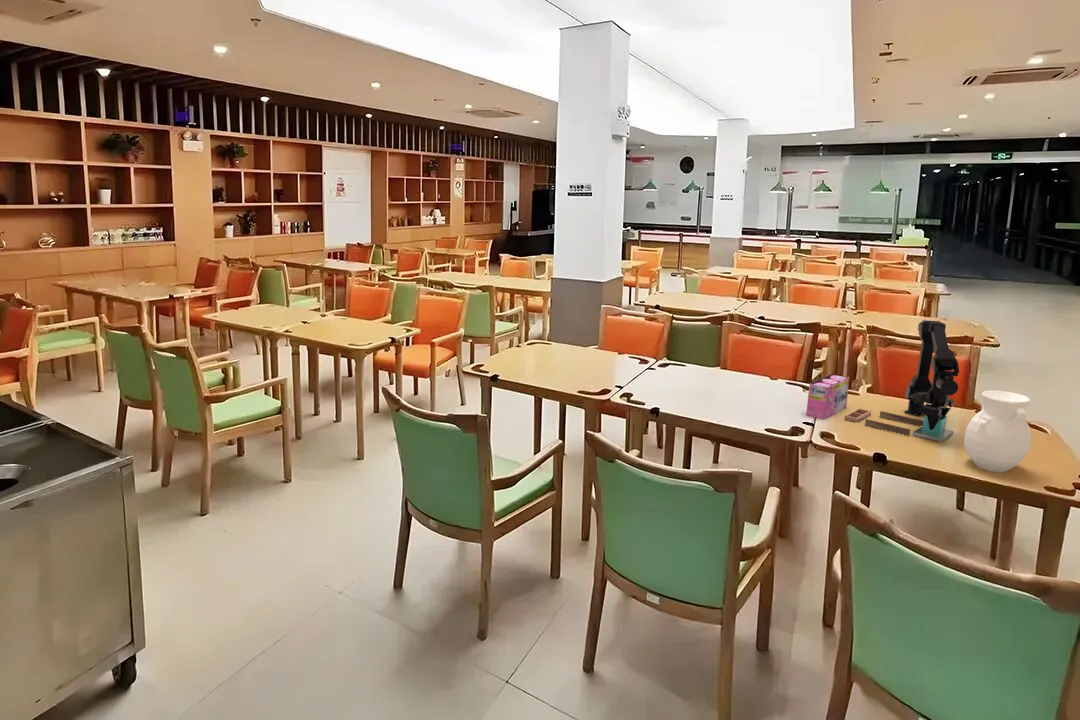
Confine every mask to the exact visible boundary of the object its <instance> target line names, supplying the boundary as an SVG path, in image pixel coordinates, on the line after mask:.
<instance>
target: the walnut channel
mask: <svg viewBox="0 0 1080 720" xmlns="http://www.w3.org/2000/svg"><path fill="white" fill-rule="evenodd" d="M880 417H881V419H884V418H886V419H885V420H889V419H890V420H889V421H893V420H894V422H897V421H900V422H899V423H902V422H904V423H903V424H906V423H909V424H908V425H910V424H913V425H912V426H915V425H918V426H917V427H919V426H923V422H924V419H919V418H914V417H910V416H906V415H901V414H896V413H892V412H886V411H882V410H881V411H879V418H880ZM864 422H865V423H864V426H865V427H868V426H870V427H869V428H873V427H874V429H877V428H878V429H877V430H881V429H883V430H882V431H885V430H887V431H886V432H889V431H891V432H890V433H893V432H896V433H895V434H897V433H900V434H899V435H902V434H904V435H903V436H906V435H908V436H907V437H909V436H910V433H911V429H910V428H908V427H907V428H906V427H902V426H898V425H895V424H890V423H886V422H881V421H878V420H873V419H868V418H865V421H864Z"/></svg>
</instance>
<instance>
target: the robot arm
mask: <svg viewBox="0 0 1080 720" xmlns="http://www.w3.org/2000/svg"><path fill="white" fill-rule="evenodd" d="M946 328H947V327H946V323H944V322H941V321H940V320H927V319H925V320H922V321H920V322H919V323H918V327H917V331H918V335H919V337H920V341H921V345H920V350H919V357H918V362H917V368H916V374H915V375H914V377H912V378H911V379H910V382H909V385H907V388H906V389H905V390H904V391H905V392H904V396H905V398H906V400H908V406H907V409H906V410H905V411H903V412H906V413H905V414H908V413H911V414H910V415H913V414H916V415H915V416H918V415H922V416H923V414H924V416H925V415H926V416H927V418H928V423H929V429H930V430H933V429H934V427H935V426H936V424H937V422H938V421H939V419H940V417H941V416H947V414H948V413H949V412H950V411H951V410H952V409H951V408H953V407H954V405H955V400H954V399H953V398H950V397H949V396H953V395H955V394H956V393H958V390H959V384H958V383H957V382H956V381H955V380H954V379H955V378H954V377H959V373H960V367H959V362H958V359H957V358H956V355H955V353H954V352H953V351H952V350H951V349H950V348H949V343H948V337H947V334H946V333H947V332H946ZM931 369H932V374H933V375H932V376H933V377H932V382H931V380H930V378H929V377H930V370H931ZM947 406H949V407H947Z"/></svg>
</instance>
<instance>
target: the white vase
mask: <svg viewBox="0 0 1080 720" xmlns="http://www.w3.org/2000/svg"><path fill="white" fill-rule="evenodd" d="M980 395H981V400H980V406H981V410H979V411H978V412H977V413H976V414H975V415H974V416H973V417H972V418H971V419H970V420H969V423H968V424H967V427H966V429H965V432H964V436H963V437H964V438H963V445H964V449H965V451H966V453H967V455H968V457H969V458H970V459H971V461H972V462H973V464H975V466H976V467H978V468H979V469H982V470H984V471H988V472H992V473H1006V472H1008V471H1009V470H1011V469H1013V468H1015V467H1016V466H1017V465H1019V464H1020V463H1022V461H1023V460H1025V458H1026V457H1027V455H1028V453H1029V451H1030V449H1031V444H1032V432H1031V429H1030V425H1029V424H1028V422H1027V420H1026V416H1027V415H1026V411H1025V410H1026V409H1027V407H1028V406H1029V404H1030V402H1031V399H1030V398H1029V397H1028V396H1026V395H1023V394H1021V393H1017V392H1011V391H1005V390H993V389H991V390H984V391H982V393H981V394H980Z"/></svg>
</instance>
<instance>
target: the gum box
mask: <svg viewBox="0 0 1080 720" xmlns="http://www.w3.org/2000/svg"><path fill="white" fill-rule="evenodd" d="M849 382H850V376H846V377H844V376H840V375H837V374H835V373H831V374H828V375H825V376H824V377H822V378H820V379H817V380H815V381H813V382H811V383H809V386H808V396H807V404H806V405H807V406H806V413H805V416H810V417H813V418H818V419H821V420H825V419H827V418H830V417H831V416H834V415H836V414H837V413H839V412H840V411H843V410H845V409H846V408H847V403H848V393H849V384H850V383H849ZM842 409H843V410H842Z"/></svg>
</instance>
